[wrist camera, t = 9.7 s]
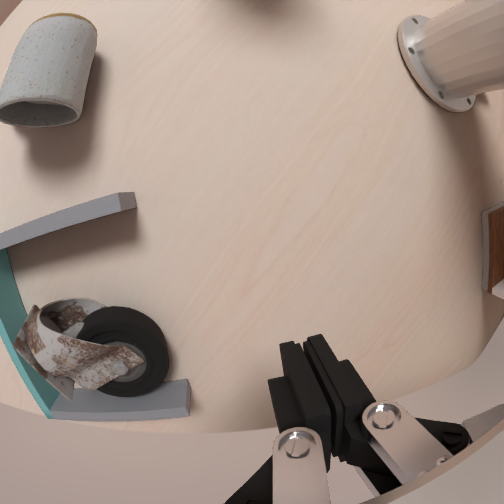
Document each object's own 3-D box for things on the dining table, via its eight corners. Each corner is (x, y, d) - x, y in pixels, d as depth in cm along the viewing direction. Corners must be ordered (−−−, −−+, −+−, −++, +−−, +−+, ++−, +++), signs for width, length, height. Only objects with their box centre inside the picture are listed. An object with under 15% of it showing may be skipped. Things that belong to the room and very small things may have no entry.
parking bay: (133, 192, 20) (117, 192, 16) (191, 388, 24) (189, 416, 20) (-4, 238, 18) (-29, 246, 14) (60, 396, 23) (47, 418, 19)
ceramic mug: (112, 38, 16) (81, -6, 9) (96, 121, 18) (48, 96, 11) (24, 63, 15) (-18, 38, 8) (8, 138, 17) (-45, 129, 9)
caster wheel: (179, 340, 26) (105, 383, 24) (108, 247, 21) (31, 306, 19) (193, 388, 20) (105, 432, 18) (97, 281, 15) (8, 348, 13)
